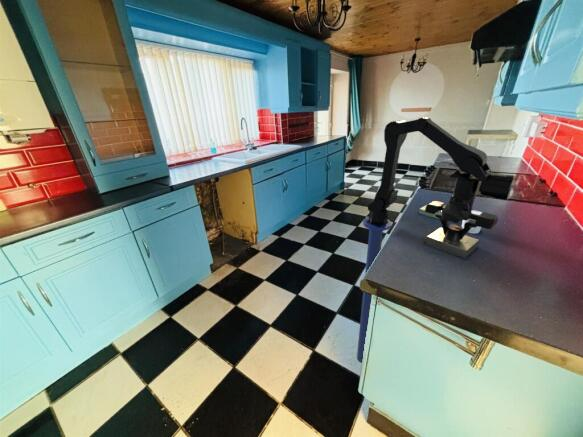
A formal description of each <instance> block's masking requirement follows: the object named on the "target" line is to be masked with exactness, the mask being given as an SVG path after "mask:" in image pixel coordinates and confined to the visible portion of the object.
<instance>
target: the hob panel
mask: <svg viewBox="0 0 583 437" xmlns="http://www.w3.org/2000/svg"><path fill="white" fill-rule="evenodd" d="M479 241H480V239H478V238H475V237H473V236H472V237H471V236H469V235H467V234H466V235H465V236H464V237H463V239H462V240H459V241H451V240H448V239H447V238H445V235H444V232H443V227H439V228H437V229H436V230H435V231H433V232H432V233H430V234H429V235H427V236H426V240H425V245H427V246H430V247H433V248H435V249H438V250H439V251H443V252H446V253H448V254H450V255H454V256H456V257H458V258H462V259H465V258H467V257H468V256H469V255H470V254H471V253H473V251H474V250H475V249H476V248H478V244H479Z"/></svg>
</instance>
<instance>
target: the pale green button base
mask: <svg viewBox="0 0 583 437" xmlns="http://www.w3.org/2000/svg"><path fill="white" fill-rule="evenodd" d="M427 205H428V204H425V205H424V206H422V207H419V210H418V214H420V215H423V216H427V217H430V218H434V219H437V220H440V219H439V218H438V217H436V216H435V215H437V213H435V214H431V213H427V212H425V208H426V206H427ZM446 205H447V204H445V206H446Z"/></svg>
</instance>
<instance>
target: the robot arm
mask: <svg viewBox="0 0 583 437" xmlns="http://www.w3.org/2000/svg"><path fill="white" fill-rule="evenodd" d="M383 129H384V130H383V141H384V144H385V148H386V149H385V155H384V161H383V167H382V168H383V169H382V174H381V179H380V180H381V181H380V186H379V187H378V189H377V191H376V192H375V196H374V199H373V201H372V202H371V203H369V204H367V211H369V215H368V217H369V220H367V221H366V222H367V223H370V224H373V225H375V226H378V227H380V226H382V225H384V224H386V223H388V221H387V219H388V220H389V213H388V209H389V208H390V206H391V205H393V204H394V203H395V202H396V201H397V200H398V193H399V189H395V180H396V175H397V170H398V163H399V158H400V153H401V148H402V147H403V144H404V143H405V141H406V139H407V136H408V134H410V133H411V134H412V133H415V132H419V133H420V134H422V135H423V136H425V137H426V138H427V139H428V140H430V141H431V142H432V143H433V144H435V145H436V146H438V147H439V148H440V149H442V150H443V151H444V152H445V153H447V155H449V156H450V158H451V160H452V161H453V163H454V165H456V166H457V169H456V170H455V171H454V172H452V173H450V174H449V176H448V177H449V178H452V179H456V180H455V184H454V188H453V193H452V195H451V196H450V199H449V201H448V203H447V204H446V203H445V202H443V203H442V201H439V202H437V201H438V200H433V201H432V202H430V203H428V204H426V205H427V206H426V205H425V206H426V208H425V212H427V213H431V214H435V213H437V215H435V216H436V217H438V218H439V219H438V220H440V222H441V228H443V232H444V235H445V234H446V230H447V227H448V225H450V223H452V224H459V223H460V222H461V221H463V220H466V221H467V220H469V221H468V222H466V223H465V224H464V229H463V231H462V233H461V236H460V240H462V239H463V237H464V236H465V235H466V236H467V234H469V233H468V231H469V230H470V229H471V228H472V227H474V228H475V227H477V226H479V227H481V229H487V230H491V229H493V228H494V226H496V225H497V223H498V220H499V217H498V215H497V214H494V213H493V214H492V213H488V212H484V211H482V212H483V213H481V214H480V215H477V214H473V213H471V211H472V210H473V207H474V206H473V205H474V202H475V199H476V198H477V191H478V193H479V194H480V195H482V197H485V198H490V199H491V198H492V199H496V200H497V199H498V200H502V201H503V200H504V201H508V199H509V197H510V195H511V192H512V189H513V186H514V185H513V184H514V179H515V174H499V173H493V170H492V169H491V168H490V166H489V164H488V155H487V153H485V151H484V150H481V149H479V148H477V147H475V146H472V145H469V144H467V143H464V142H463V141H460V140H459V139H457V138H456V137H455V136H453V135H452V134H450V133H449V132H448V131H446V129H445V128H442V127H441V126H439V125H438V124H437V123H436V122H434V121H433V120H432V119H431V118H430V117H428V116H425V117H420V118H419V117H418V119H413V120H409V121H408V120H407V121H406V120H403V119H400V120H392V121H390V122H388V123H387V124H386V125H385V127H384V128H383ZM479 184H480V185H479ZM445 205H446V206H445Z"/></svg>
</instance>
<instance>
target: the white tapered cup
mask: <svg viewBox="0 0 583 437" xmlns="http://www.w3.org/2000/svg"><path fill="white" fill-rule="evenodd" d="M483 212H484V211H480V210H477V209H476V210H475V209H472V211H471V213H473V214H477V215H480V214H481V213H483ZM461 221H462V222H461V227H462V228H463V229H464V224H465V223H466V222H468V221H469V220H467V221H466V220H461ZM481 229H482V227H479V226H477V227H475V228H474V227H472V228H471V229H470V230H469V231H468V233H467V234H479V233H480V231H481Z"/></svg>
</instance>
